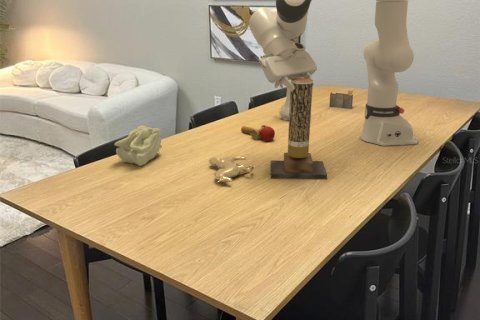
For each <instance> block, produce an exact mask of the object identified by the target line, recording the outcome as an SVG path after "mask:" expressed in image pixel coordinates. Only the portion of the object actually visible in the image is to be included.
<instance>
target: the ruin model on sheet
mask: <svg viewBox="0 0 480 320" xmlns="http://www.w3.org/2000/svg"><path fill="white" fill-rule="evenodd" d="M353 93H354V90H348V92H347V93H341V92H335V93H333V92H330V93H329V108H338V109H346V110H351V109H352V108H353V101H354V100H353V99H354V94H353Z"/></svg>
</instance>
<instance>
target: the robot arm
mask: <svg viewBox="0 0 480 320" xmlns="http://www.w3.org/2000/svg"><path fill="white" fill-rule="evenodd" d="M312 1H313V0H275V8H274V9H273V8H266V7H265V6H262V7H259V8H258V9H255V11H253V13H252V15H251V16H250V18H249V21H248V26H249V29H250V30H249V31H250V32H251V34H252V35H253V38H254V39H255V41H256V43H257V44H258V45H259V46H260V47H261V49H262V52H263V55H260V57H259V59H258V62H259V63H260V65H261V68H262V69H261V70H262V71H263V73H264V76H265V78H266V80H267V81H268V82H269V83H271V84H275V83H276V82H280V81H281V82H282V85H283V86H285V87H286V88H287V87H288V88H289V90H290V91H295V90H296V89H297V87H296V86H295V84H292V83H291V82H290V81H289V80H290V79H295V78H301V77H303V78H307V79H312V76H313V75H314V73H315V72H316V71H317V69H318V66H317V64H316V62H315V60H314V59H313V58H312V56H311V55H310V53H309V52H308V51H306V46H305V44H303V43H299V42H296V41H294V39H297V38H299V37H300V36H302V35H303V34H304V33H305V30H306V27H307V22H308V14H309V9H310V5H311V4H312ZM408 5H409V0H376V2H375V14H374V26H375V28H376V30H377V34H378V35H377V36H378V39H377V38H376V39H374V40H371V41H369V42H368V43H367V44H366V45H365V47H364V49H363V58H364V61H365V63H366V69H367V79H368V91H367V102H366V103H365V108H364V122H363V125H362V129H361V133H360V135H359V139H361V140H362V141H365V142H367V143H371V144H376V145H379V146H383V147H385V146H386V147H387V146H403V145H404V146H407V145H417V144H418V143H419V138H418V137H417V136H416V135H415V134H414V130H413V126H412V124H411V123H410V122H409V121H407V119H405V118H404V117H403V116H402V114H404V113H405V109H404V108H403V107H400V106H399V105H397V101H398V93H399V84H398V82H397V77H396V74H395V73H402V72H405V71H407V70H408V69H409V68H410V67H411V65H412V64H413V62H414V59H415V58H414V57H415V55H414V52H413V49H412V47H411V46H410V42H409V36H408V30H407V29H408V28H407V18H408ZM313 86H314V82H313Z"/></svg>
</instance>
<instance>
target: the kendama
mask: <svg viewBox="0 0 480 320" xmlns="http://www.w3.org/2000/svg"><path fill="white" fill-rule="evenodd" d="M240 131H241V133H243V134H244V133H245V134H250V136H251V138H252V139H253V140H256V141H257V140H260V138H261V139H262V140H263V141H264V142H265V141H266V142H272V140H273V139H274V138H275V137H276V136H275V135H276V131H275V129H274V128H273V127H271V126H268V125H267V124H262V125H261V126H260V128H258V129H257V128H253V127H249V126H245V125H243V126H242V127H241V128H240Z"/></svg>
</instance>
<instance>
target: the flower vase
mask: <svg viewBox="0 0 480 320" xmlns="http://www.w3.org/2000/svg"><path fill="white" fill-rule="evenodd" d="M301 78H303V77H301ZM289 81H290V82H291V79H290V80H289ZM274 88H275V89H277V88H280V89H283V88H284V85H283V84H282V82H281V81H280V82H275V83H274ZM289 110H290V90H289V88H288V87H286V98H285V102H284V104H283V106H282V107H281V108H280V109H279V115H280V116H281V117H282V120H283V121H289Z"/></svg>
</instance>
